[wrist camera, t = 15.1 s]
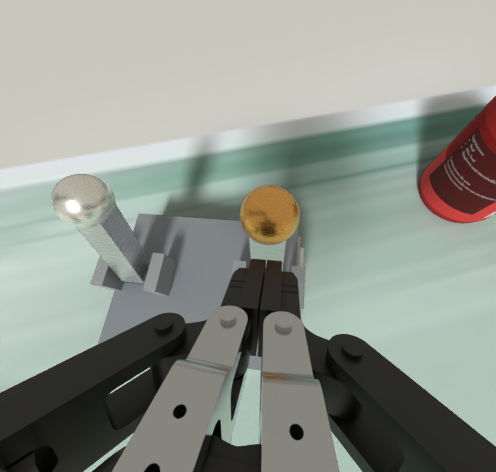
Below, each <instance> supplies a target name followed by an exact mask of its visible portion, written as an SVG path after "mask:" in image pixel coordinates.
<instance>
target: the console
mask: <svg viewBox="0 0 496 472" xmlns="http://www.w3.org/2000/svg"><path fill="white" fill-rule="evenodd" d="M298 227H299V225H298V226H297V228H296V230H295V232H294V233H293V235H292V236H291V237H290V238H288V239H287V240H286V246H285V254H284V262H283V272H293V273H294V275H295V276H296V277H297V279H298V289H299V303H300V311H301V310H303V309H304V284H305V267H303V259H304V248H301V237H298ZM133 233H134V235H135V236H136V238H137V240H138V241H139V243H140V245H141V246H142V248H143V249H144V251H145V253H146V254H147V256H148V258H149V259H150V265H149V268H148V272H147V276H146V279H145V283H144V285H141V284H132V283H124V282H121V281H120V280H119V278H118V276H117V275H116V273H115V272H114V271H113V270H112V269H111V268H110V266H109V265H108V264H107V263H106V262H105V261H104V260H103V258H102V257H101V256H100V257H99V260H98V263H97V266H96V269H95V272H94V274H93V277H92V280H91V283H90V284H91V285H95V286H99V287H103V288H107V289H111V290H115V291H114V294H113V298H112V301H111V304H110V307H109V310H108V314H107V317H106V320H105V323H104V326H103V330H102V333H101V336H100V339H99V342H98V344H100V343H102V342H104V341H106V340H108V339H110V338H112V337H114V336H116V335H118V334H120V333H122V332H124V331H126V330H128V329H130V328H132V327H134V326H136V325H138V324H140V323H142V322H144V321H146V320H148V319H150V318H152V317H154V316H157V315H159V314H162V313H177V314H179V315H181V316H182V317H183V318H184V320H185V324H186V323H193V322H200V321H204V320H207V319H208V318H209V316H210V314H211V313H212V312H213V311H214V310H215V309H217V308H219V307H220V306H221V303H222V301H223V298H224V296H225V293H226V290H227V288H228V285H229V282H230V280H231V277H232V274H233V273H234V272H235V271H236V270H237V269H238V268H249V264H250V261H251V256H250V241H249V237H248V236H247V235H246V233H245V232H244V230H243V228H242V226H241V223H240V221H234V220H220V219H206V218H192V217H178V216H165V215H151V214H139V215H138V218H137V221H136V224H135V228H134V231H133ZM261 359H262V357H258V345H257V352H256V356H250V359H249V365H248V368H249V369H256V370H261Z"/></svg>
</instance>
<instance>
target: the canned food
mask: <svg viewBox="0 0 496 472" xmlns="http://www.w3.org/2000/svg"><path fill="white" fill-rule="evenodd" d="M419 193H420V196H421V199H422V201H423V202H424V204H425V205H426V206H427V208H428V209H429V210H430V211H432V212H433V213H434V214H435V215H437V216H439V217H440V218H443V219H445V220H447V221H451V222H455V223H472V222H478V221H481V220H485V219H487V218H489V217H491V216H493V215H495V214H496V96H495V97H494V98H493V99H492V100H491V101H490V102H489V103H488V104H487V105H486V106H485V107H484V108H483V109H482V111H481V112H480V113H479V114H478V115H477V116H476V117H475V118H474V119H473V120H472V121H471V122H470V123H469V124H468V125H467V126H466V127H465V128H464V129H463V130H462V131H461V133H460V134H459V135H458V136H457V137H456V138H455V139H454V140H453V141H452V142H451V143H450V144H449V145H448V146H447V147H446V148H445V149H444V150H443V151H442V152H441V153H440V155H439V156H438V157H437V158H436V159H435V160H434V161H433V162H432V163H431V164H430V165H429V166H428V167H427V168H426V170H425V171H424V173H423V175H422V177H421V180H420V183H419Z"/></svg>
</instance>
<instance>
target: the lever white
mask: <svg viewBox="0 0 496 472" xmlns="http://www.w3.org/2000/svg"><path fill="white" fill-rule="evenodd" d="M51 202H52V206H53V209H54V211H55V213H56V214H57V215H58V216H59V217H60V218H61V219H62V220H63V221H65V222H66V223H68V224H70V225H72V226H75V227H76V228H77V229H78V231H79V232H80V233H81V234H82V235H83V236H84V238H85V239H86V240H87V241H88V242H89V243H90V245H91V246H92V247H93V248H94V249H95V250H96V251H97V253H98V254H99V255H100V256H101V257H102V258H103V260H104V261H105V262H106V263H107V264H108V265H109V266H110V268H111V269H112V270H113V271H114V272H115V273H116V275H117V276H118V278H119V280H120V281H121V282H124V283H132V284H141V285H144V283H145V279H146V276H147V272H148V268H149V265H150V259H149V258H148V256H147V254H146V253H145V251H144V249H143V248H142V246H141V245H140V243H139V241H138V240H137V238H136V236H135V235H134V233H133V231H132V230H131V228H130V227H129V225H128V223H127V222H126V220H125V218H124V217H123V215H122V213H121V212H120V210H119V209H118V207H117V205H116V197H115V194H114V192H113V190H112V189H111V187H110V186H109V185H108V184H107V183H106V182H104V181H103V180H101V179H100V178H98V177H95V176H92V175H88V174H74V175H70V176H67V177H65V178H63V179H62V180H60V181H59V182H58V183H57V184H56V186H55V187H54V189H53V191H52V195H51Z"/></svg>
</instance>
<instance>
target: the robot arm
mask: <svg viewBox="0 0 496 472" xmlns="http://www.w3.org/2000/svg"><path fill="white" fill-rule="evenodd" d="M257 345H258V357H262V359H261V378H260V415H259V444H255V445H247V446H234V445H231V442H232V434H233V428H234V424H235V420H236V416H237V412H238V408H239V403H240V399H241V395H242V391H243V387H244V383H245V379H246V375H247V368H248V365H249V359H250V356H256V352H257ZM149 367H150V369H149V370H148V371H146V372H144V373H143V374H141V375H140V376H138V377H136V378H135V379H133V380H132V381H130V382H129V383H127V384H125V385H124V386H122V387H121V388H119V389H117V390H116V391H114V392H113V393H111V394H109V393H110V392H111V391H113V390H114V389H115V388H117V387H119V386H120V385H122V384H123V383H125V382H127V381H128V380H130V379H131V378H133V377H135V376H136V375H138V374H139V373H141V372H143V371H144V370H146V369H147V368H149ZM331 431H332V432H333V434H334V435H335V436H336V438H337V439H338V440H339V441H340V443H341V444H342V445H343V447H344V448H345V449H346V451H347V452H348V453H349V455H350V456H351V457H352V458H353V460H354V461H355V462H356V464H357V465H358V466H359V468H360V469H361V470H362V472H496V447H495V446H494V445H493V444H492V443H490V442H489V441H488V440H487V439H485V438H484V437H483V436H482V435H480V434H479V433H478V432H477V431H475V430H474V429H473V428H472V427H471V426H469V425H468V424H467V423H466V422H464V421H463V420H462V419H461V418H459V417H458V416H457V415H456V414H454V413H453V412H452V411H451V410H449V409H448V408H447V407H446V406H444V405H443V404H442V403H441V402H439V401H438V400H437V399H436V398H434V397H433V396H432V395H431V394H429V393H428V392H427V391H426V390H425V389H423V388H422V387H421V386H420V385H418V384H417V383H416V382H415V381H413V380H412V379H411V378H410V377H408V376H407V375H406V374H405V373H403V372H402V371H401V370H400V369H398V368H397V367H396V366H395V365H393V364H392V363H391V362H390V361H388V360H387V359H386V358H385V357H383V356H382V355H381V354H380V353H378V352H377V351H376V350H375V349H374V348H372V347H371V346H370V345H369V344H367V343H366V342H365V341H363V340H362V339H360V338H358V337H355V336H352V335H348V334H339V335H335V336H333V337H332V338H331V339H330V341H329V340H327V339H324V338H321V337H319V336H317V335H315V334H313V333H311V332H310V331H309V330H307V329H306V328H305V326H304V325H303V323H302V321H301V316H300V303H299V289H298V279H297V277H296V276H295V275H294V273H293V272H283V271H282V261H276V260H267V265H266V260H263V259H252V258H251V261H250V264H249V268H238V269H237V270H236V271H235V272H234V273H233V274H232V277H231V280H230V282H229V285H228V288H227V290H226V293H225V296H224V298H223V301H222V303H221V306H220V307H219V308H217V309H215V310H214V311H213V312H212V313H211V314H210V316H209V318H208V319H207V320H204V321H200V322H193V323H186V324H185V320H184V318H183V317H182V316H181V315H179V314H177V313H162V314H159V315H157V316H154V317H152V318H150V319H148V320H146V321H144V322H142V323H140V324H138V325H136V326H134V327H132V328H130V329H128V330H126V331H124V332H122V333H120V334H118V335H116V336H114V337H112V338H110V339H108V340H106V341H104V342H102V343H100V344H98V345H96V346H94V347H92V348H90V349H88V350H86V351H84V352H82V353H80V354H78V355H76V356H74V357H72V358H70V359H68V360H66V361H64V362H62V363H60V364H58V365H56V366H54V367H52V368H50V369H48V370H46V371H44V372H42V373H40V374H38V375H36V376H33V377H31V378H29V379H27V380H25V381H23V382H21V383H19V384H17V385H15V386H13V387H11V388H9V389H7V390H5V391H3V392H1V393H0V472H83V471H84V470H86V469H87V468H88V467H90V466H91V465H92V464H93V463H95V462H96V461H97V460H99V459H100V458H101V457H103V456H104V455H105V454H106V453H108V452H109V451H110V450H112V449H113V448H114V447H116V446H117V445H118V444H119V443H121V442H122V441H123V440H125V439H126V438H127V437H129V436H130V435H131V434H132V433H134V434H133V436H132V437H131V439H130V441H129V443H128V444H127V446H125V447H123V448H122V449H120V450H119V451H117V452H116V453H114V454H113V455H112V456H111V457H109V458H108V459H107V460H105V461H104V462H103V463H102V464H101V465H99V466H98V467H97V468H96V469H95V470H93V471H92V472H339V467H338V462H337V458H336V453H335V448H334V444H333V439H332V434H331Z"/></svg>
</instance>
